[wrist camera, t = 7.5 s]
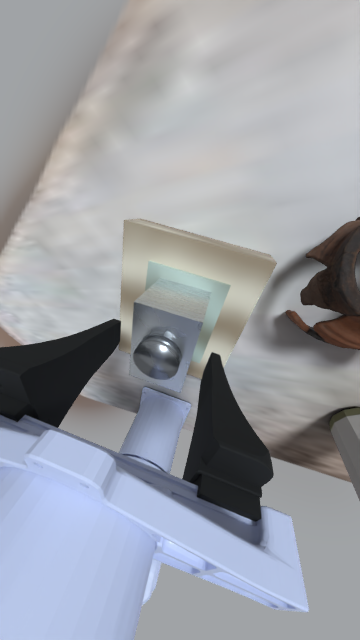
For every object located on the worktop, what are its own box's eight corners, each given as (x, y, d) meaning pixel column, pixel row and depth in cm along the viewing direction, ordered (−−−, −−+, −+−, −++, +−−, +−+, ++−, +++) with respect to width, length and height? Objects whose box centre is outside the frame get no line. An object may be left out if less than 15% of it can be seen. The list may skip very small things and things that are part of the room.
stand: (217, 365, 23) (215, 386, 21) (130, 335, 24) (117, 351, 22) (270, 254, 16) (277, 264, 13) (140, 218, 17) (122, 220, 14)
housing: (192, 353, 19) (177, 403, 14) (151, 339, 19) (123, 384, 14) (211, 292, 15) (200, 331, 10) (160, 277, 16) (126, 308, 11)
